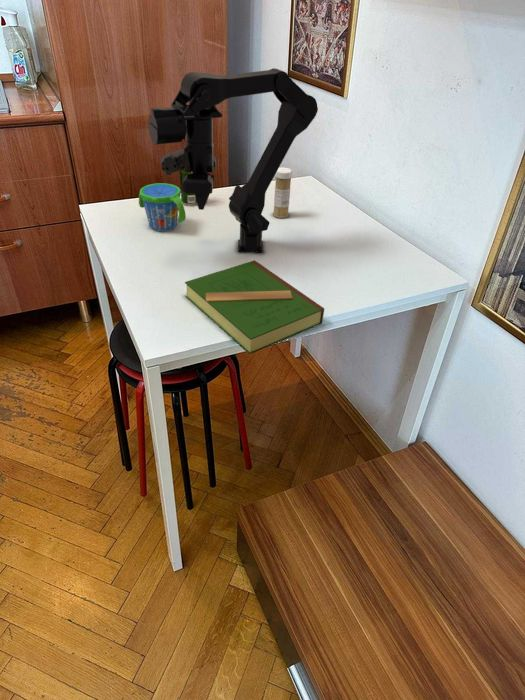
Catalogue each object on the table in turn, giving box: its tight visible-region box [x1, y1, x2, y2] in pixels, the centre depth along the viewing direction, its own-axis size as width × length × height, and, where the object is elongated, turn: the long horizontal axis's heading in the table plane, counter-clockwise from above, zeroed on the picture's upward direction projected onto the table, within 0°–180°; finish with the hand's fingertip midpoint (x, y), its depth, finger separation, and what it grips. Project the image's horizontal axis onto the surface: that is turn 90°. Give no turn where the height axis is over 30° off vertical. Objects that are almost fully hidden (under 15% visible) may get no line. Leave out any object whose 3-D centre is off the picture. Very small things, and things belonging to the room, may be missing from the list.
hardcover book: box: [184, 259, 325, 355], centre depth 108 cm, size 25×19×4 cm
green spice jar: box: [179, 168, 198, 207], centre depth 149 cm, size 5×5×12 cm
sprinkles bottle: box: [272, 166, 293, 219], centre depth 144 cm, size 5×5×13 cm
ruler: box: [206, 291, 293, 302], centre depth 105 cm, size 3×18×1 cm, turn 97°
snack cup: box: [138, 182, 187, 232], centre depth 136 cm, size 16×10×10 cm
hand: (201, 209), depth 118 cm, fingers closed
